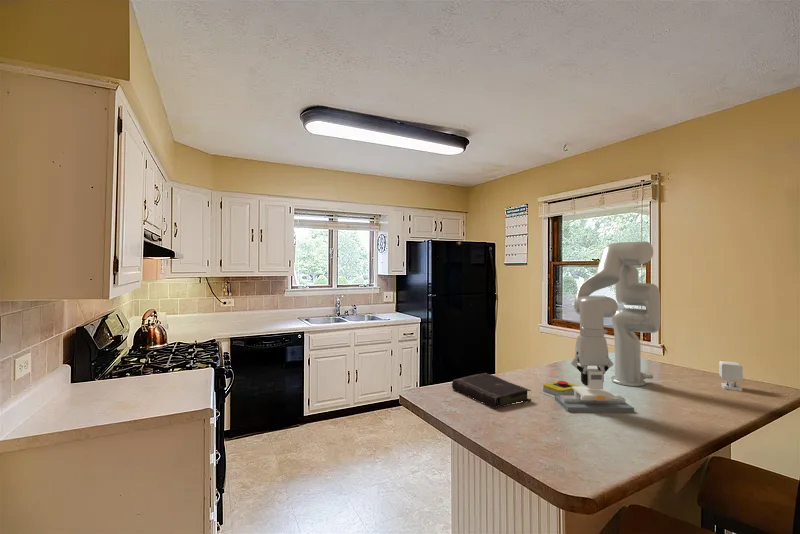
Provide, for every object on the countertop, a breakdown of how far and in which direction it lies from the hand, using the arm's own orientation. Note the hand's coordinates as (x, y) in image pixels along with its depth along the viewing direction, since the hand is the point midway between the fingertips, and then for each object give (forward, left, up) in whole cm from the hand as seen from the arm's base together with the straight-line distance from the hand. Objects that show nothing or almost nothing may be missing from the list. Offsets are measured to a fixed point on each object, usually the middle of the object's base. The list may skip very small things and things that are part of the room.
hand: (592, 383), depth 134 cm
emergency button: (+6, -15, -8) cm, 18 cm away
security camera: (-65, -22, -8) cm, 69 cm away
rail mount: (0, 0, -8) cm, 8 cm away
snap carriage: (0, 0, -5) cm, 5 cm away
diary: (+34, -11, -8) cm, 37 cm away
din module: (0, 0, -1) cm, 1 cm away
